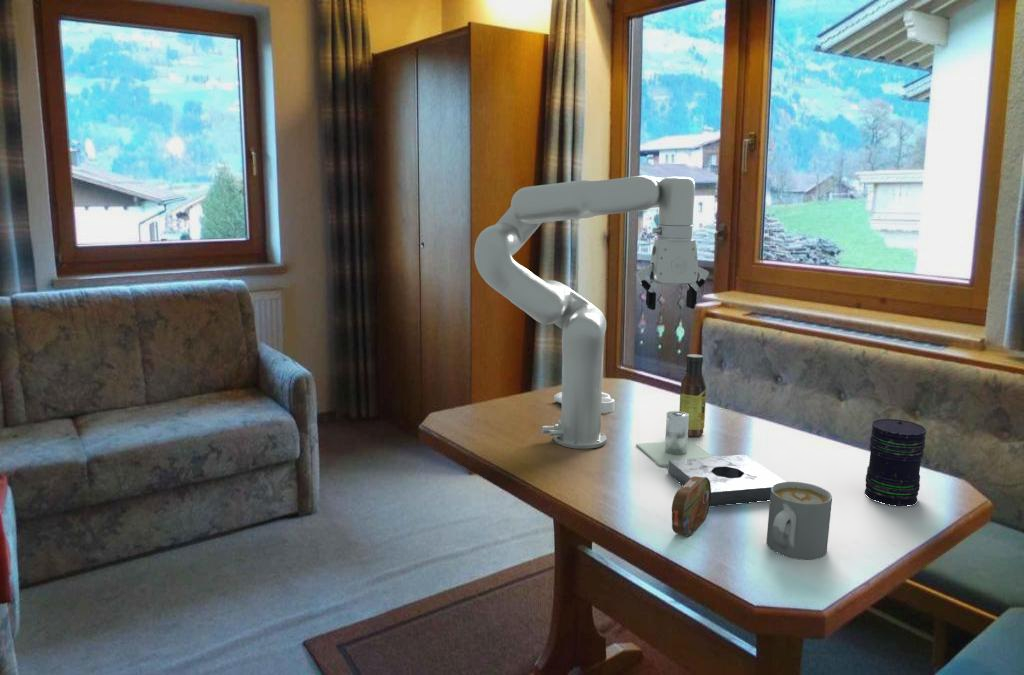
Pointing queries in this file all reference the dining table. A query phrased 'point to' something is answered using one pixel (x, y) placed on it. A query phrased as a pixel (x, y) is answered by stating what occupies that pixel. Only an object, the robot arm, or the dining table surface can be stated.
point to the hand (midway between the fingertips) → (670, 308)
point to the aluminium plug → (676, 433)
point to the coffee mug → (799, 520)
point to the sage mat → (662, 458)
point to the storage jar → (895, 461)
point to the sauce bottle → (694, 395)
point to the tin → (691, 505)
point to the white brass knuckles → (606, 403)
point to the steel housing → (728, 477)
